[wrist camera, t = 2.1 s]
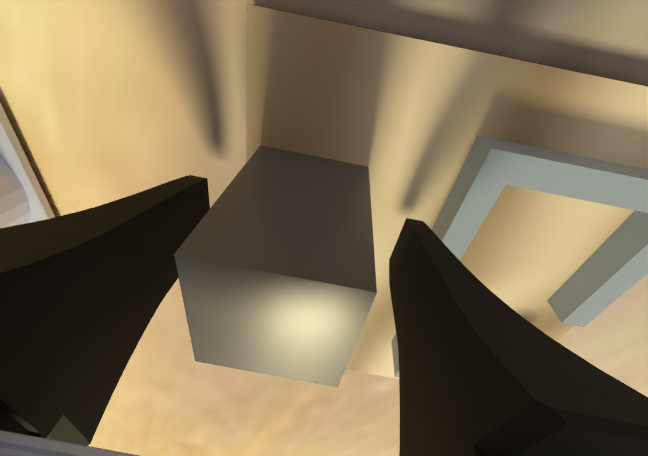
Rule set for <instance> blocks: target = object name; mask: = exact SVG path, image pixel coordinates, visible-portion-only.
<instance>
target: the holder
mask: <svg viewBox="0 0 648 456" xmlns="http://www.w3.org/2000/svg"><path fill="white" fill-rule="evenodd" d="M506 185H510V186H515V187H520V188H525V189H530V190H535V191H540V192H545V193H550V194H555V195H560V196H565V197H570V198H575V199H580V200H585V201H590V202H595V203H600V204H605V205H610V206H615V207H620V208H626V209H631V210H635V211H634V212H633V213H632V214H631V215H630V216H629V217H628V218H627V219H626V220H625V221H624V222H623V223H622V224H621V225H620V227H619V228H618V229H617V230H616V231H615V232H614V233H613V234H612V235H611V236H610V237H609V238H608V239H607V240H606V241H605V242H604V243H603V244H602V245H601V246H600V247H599V248H598V249H597V250H596V251H595V252H594V253H593V254H592V255H591V256H590V257H589V258H588V259H587V260H586V261H585V262H584V263H583V264H582V266H581V267H580V268H579V269H578V270H577V271H576V272H575V273H574V274H573V275H572V276H571V277H570V278H569V279H568V280H567V281H566V282H565V283H564V284H563V285H562V286H561V287H560V288H559V289H558V290H557V291H556V292H555V293H554V294H553V295H552V296H551V297H550V298H549V299H548V300H547V302H548V303H549V305H550V306H551V308H552V309H553V311H554V312H555V314H556V315H557V317H558V318H559V319H560V321H561V322H562V323H566V324H571V325H577V326H582V327H584V326H585V325H587V324H588V323H589V322H590V321H591V320H593V319H594V318H595V317H596V316H597V315H599V314H600V313H601V312H602V311H603V310H604V309H606V308H607V307H608V306H609V305H610V304H612V303H613V302H614V301H615V300H616V299H618V298H619V297H620V296H621V295H622V294H624V293H625V292H626V291H627V290H628V289H630V288H631V287H632V286H633V285H634V284H635V283H637V282H638V281H639V280H640V279H641V278H643V277H644V276H645V275H646V274H647V273H648V170H647V169H642V168H637V167H632V166H627V165H623V164H618V163H613V162H608V161H603V160H598V159H593V158H588V157H583V156H578V155H573V154H568V153H563V152H558V151H553V150H548V149H543V148H538V147H533V146H528V145H523V144H518V143H513V142H508V141H503V140H498V139H493V138H488V137H483V136H477V138H476V140H475V142H474V144H473V146H472V148H471V150H470V152H469V154H468V156H467V159H466V161H465V163H464V165H463V167H462V169H461V171H460V173H459V175H458V177H457V179H456V181H455V183H454V185H453V187H452V189H451V191H450V193H449V195H448V197H447V199H446V201H445V203H444V205H443V208H442V210H441V212H440V214H439V216H438V218H437V220H436V222H435V224H434V226H433V228H432V231H433V232H434V233H435V234H436V235H437V236H438V237H439V239H440V240H441V241H442V242H443V243H444V244H445V245H446V246H447V247H448V249H449V250H450V251H451V252H452V253H453V254H454V255H455V256H456V257H457V258H458V259H459V260H460V259H461V257H462V256H463V254H464V253H465V251H466V249H467V248H468V246H469V244H470V243H471V241H472V240H473V238H474V236H475V235H476V233H477V231H478V230H479V228H480V226H481V225H482V223H483V222H484V220H485V218H486V217H487V215H488V213H489V212H490V210H491V209H492V207H493V205H494V204H495V202H496V200H497V199H498V197H499V195H500V194H501V192H502V191H503V189H504V187H505V186H506Z"/></svg>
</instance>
